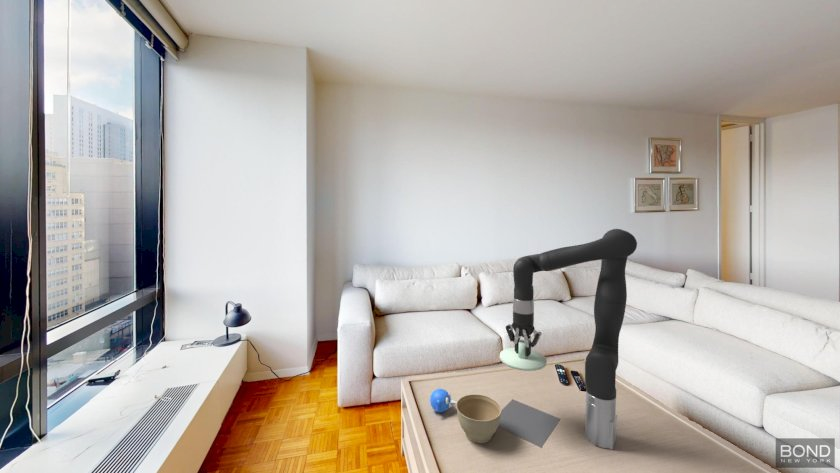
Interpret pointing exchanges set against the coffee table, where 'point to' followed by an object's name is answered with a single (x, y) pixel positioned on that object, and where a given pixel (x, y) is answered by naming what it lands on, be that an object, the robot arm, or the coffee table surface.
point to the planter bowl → (478, 416)
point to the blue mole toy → (441, 400)
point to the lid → (523, 358)
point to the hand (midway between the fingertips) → (522, 354)
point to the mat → (527, 422)
